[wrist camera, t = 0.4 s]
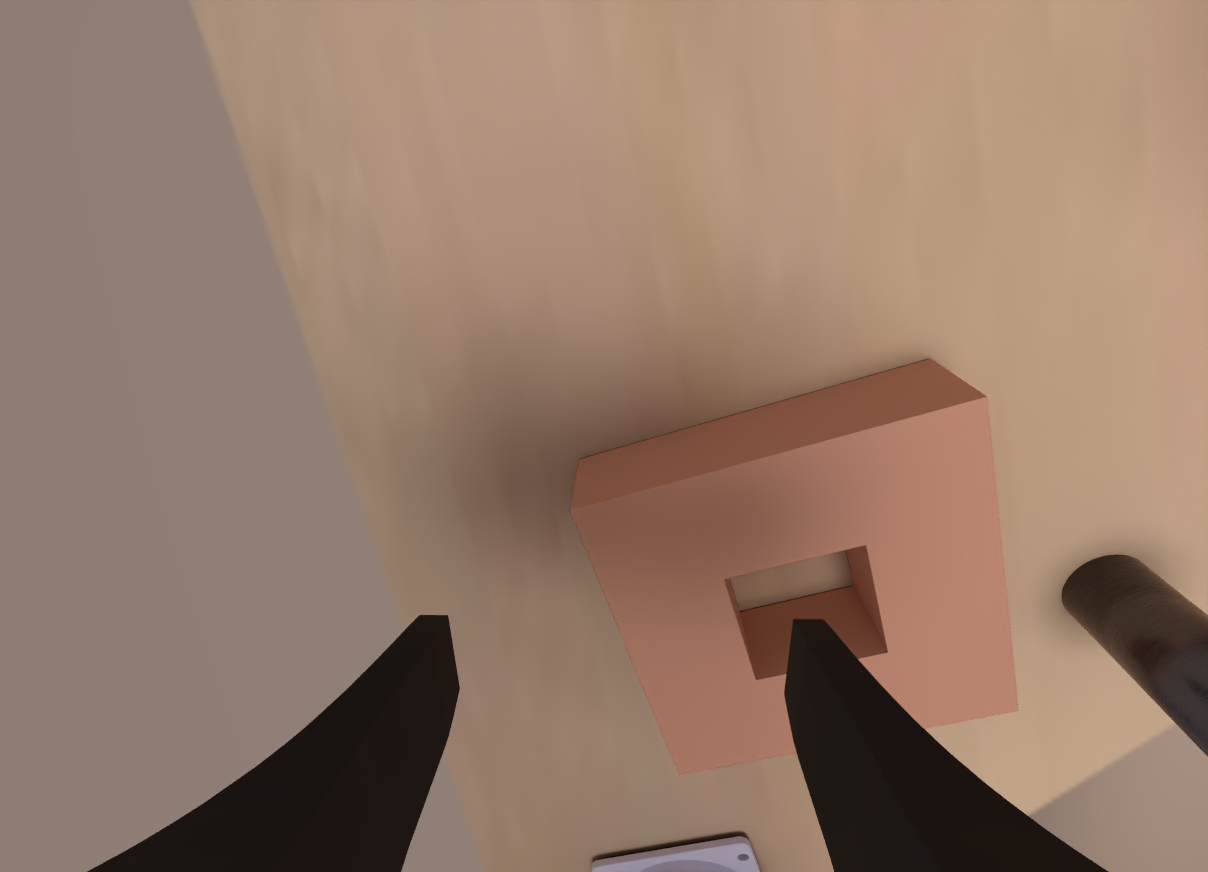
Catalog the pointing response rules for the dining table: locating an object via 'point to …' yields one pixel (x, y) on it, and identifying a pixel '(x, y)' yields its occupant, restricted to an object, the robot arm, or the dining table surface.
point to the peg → (1147, 635)
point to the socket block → (807, 557)
